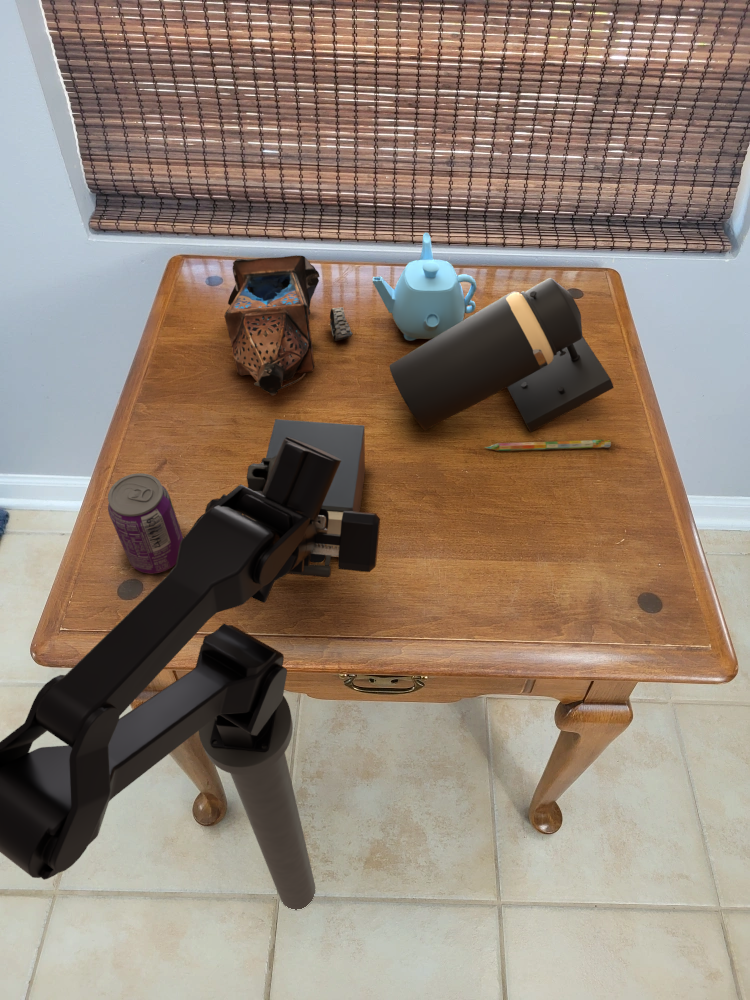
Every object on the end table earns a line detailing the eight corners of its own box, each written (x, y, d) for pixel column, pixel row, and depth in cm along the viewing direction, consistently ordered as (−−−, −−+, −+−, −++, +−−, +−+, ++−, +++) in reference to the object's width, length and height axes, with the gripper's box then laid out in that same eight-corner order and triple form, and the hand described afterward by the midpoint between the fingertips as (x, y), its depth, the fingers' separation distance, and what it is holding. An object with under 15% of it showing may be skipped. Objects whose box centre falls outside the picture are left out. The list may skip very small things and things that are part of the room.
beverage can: (192, 533, 99) (173, 472, 90) (177, 579, 95) (156, 520, 85) (138, 528, 100) (114, 467, 90) (121, 574, 95) (94, 515, 86)
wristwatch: (330, 343, 125) (336, 338, 121) (327, 311, 125) (333, 305, 120) (349, 342, 126) (355, 337, 121) (346, 310, 126) (352, 304, 121)
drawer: (344, 586, 93) (342, 549, 87) (259, 579, 94) (252, 542, 88) (358, 482, 104) (358, 442, 98) (282, 476, 104) (277, 436, 98)
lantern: (273, 343, 133) (274, 443, 116) (199, 284, 123) (189, 384, 106) (342, 285, 126) (354, 383, 109) (270, 218, 116) (271, 313, 99)
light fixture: (379, 344, 109) (544, 247, 103) (428, 413, 122) (577, 330, 116) (403, 407, 101) (584, 305, 95) (453, 473, 114) (614, 387, 108)
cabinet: (354, 554, 97) (352, 507, 90) (263, 547, 98) (255, 500, 90) (364, 474, 106) (364, 425, 98) (281, 468, 106) (275, 418, 99)
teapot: (363, 321, 127) (363, 261, 118) (422, 287, 133) (426, 228, 124) (428, 367, 120) (433, 307, 111) (488, 330, 126) (497, 270, 117)
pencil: (483, 453, 108) (610, 449, 109) (484, 448, 107) (612, 444, 108) (482, 446, 109) (608, 442, 110) (483, 441, 108) (609, 437, 109)
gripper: (379, 470, 74) (388, 466, 90) (191, 453, 76) (232, 452, 91) (369, 583, 75) (380, 559, 91) (183, 564, 77) (225, 544, 92)
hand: (304, 526), depth 91 cm, fingers closed, pressing on drawer
